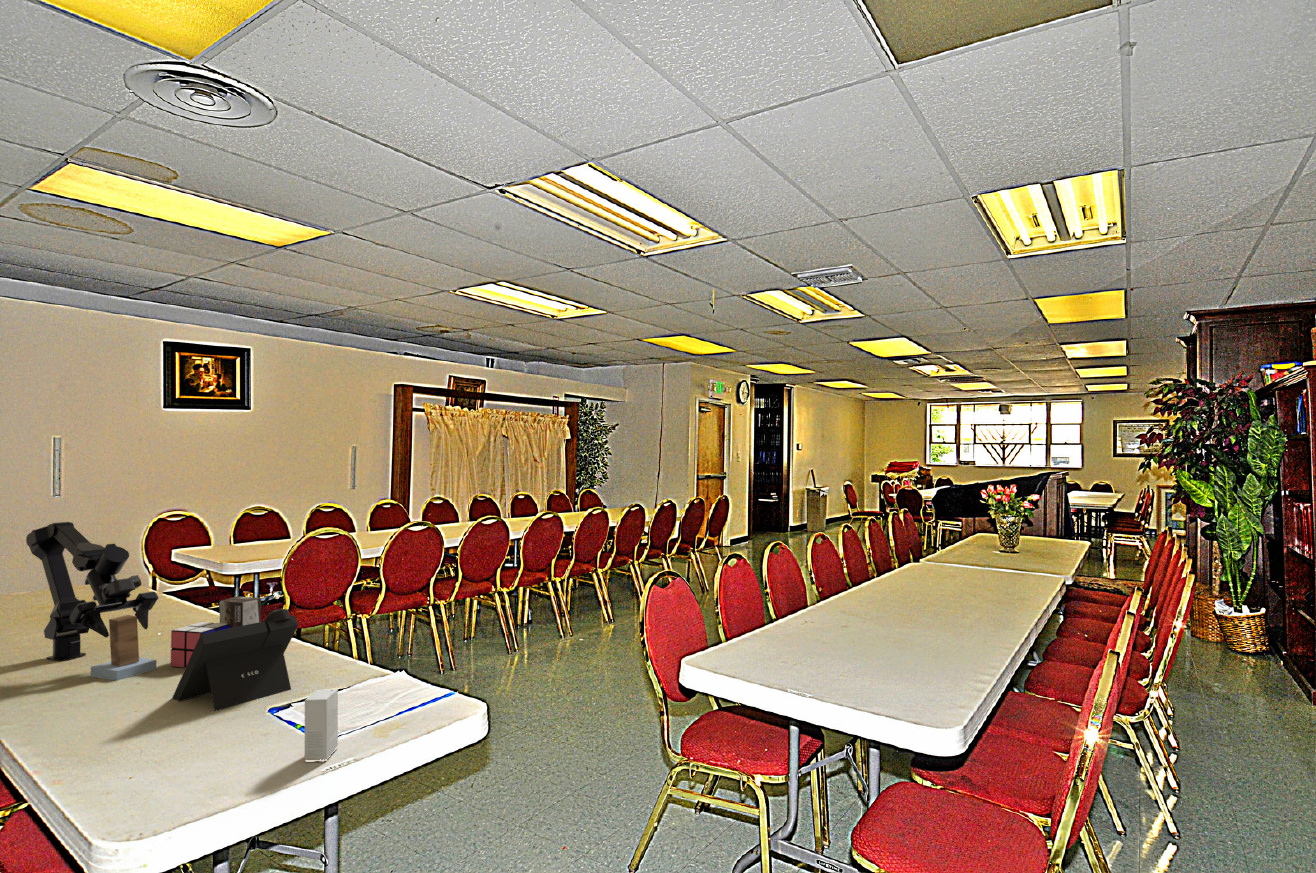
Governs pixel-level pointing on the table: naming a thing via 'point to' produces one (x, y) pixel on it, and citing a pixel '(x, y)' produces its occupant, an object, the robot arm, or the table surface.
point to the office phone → (240, 662)
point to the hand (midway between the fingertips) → (127, 632)
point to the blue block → (122, 669)
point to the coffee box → (240, 611)
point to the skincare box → (321, 724)
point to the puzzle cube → (189, 640)
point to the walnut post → (124, 640)
